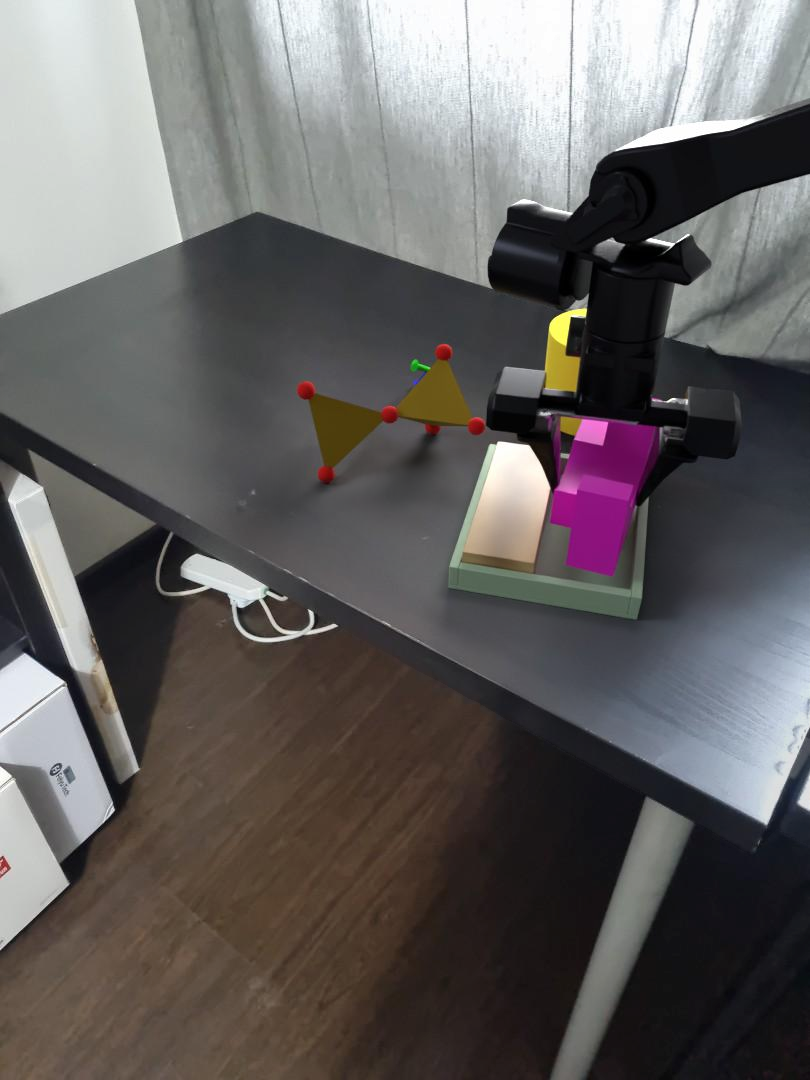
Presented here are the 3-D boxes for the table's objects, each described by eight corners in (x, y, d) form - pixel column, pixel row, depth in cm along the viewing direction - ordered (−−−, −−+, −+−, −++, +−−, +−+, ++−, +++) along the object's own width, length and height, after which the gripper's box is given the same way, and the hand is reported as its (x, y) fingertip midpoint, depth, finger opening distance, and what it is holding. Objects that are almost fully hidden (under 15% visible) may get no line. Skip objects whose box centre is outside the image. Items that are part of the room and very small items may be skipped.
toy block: (578, 457, 77) (588, 386, 72) (646, 471, 75) (661, 399, 70) (535, 557, 66) (544, 482, 61) (612, 576, 64) (628, 500, 60)
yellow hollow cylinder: (650, 432, 85) (667, 349, 79) (556, 442, 84) (566, 358, 78) (616, 384, 93) (630, 304, 87) (529, 392, 92) (537, 312, 85)
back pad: (555, 475, 79) (559, 449, 77) (531, 590, 67) (534, 563, 65) (496, 466, 80) (497, 441, 78) (461, 579, 68) (462, 551, 66)
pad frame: (646, 485, 78) (650, 464, 77) (636, 620, 65) (642, 598, 63) (488, 463, 81) (489, 443, 80) (448, 588, 68) (448, 566, 67)
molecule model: (273, 402, 88) (273, 312, 79) (430, 381, 94) (447, 294, 84) (311, 519, 80) (316, 433, 70) (481, 488, 85) (508, 405, 76)
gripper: (755, 290, 63) (710, 458, 74) (513, 270, 67) (503, 432, 77) (764, 358, 55) (713, 537, 65) (489, 331, 59) (480, 503, 69)
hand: (596, 497), depth 70 cm, fingers closed on toy block, 6 cm apart
